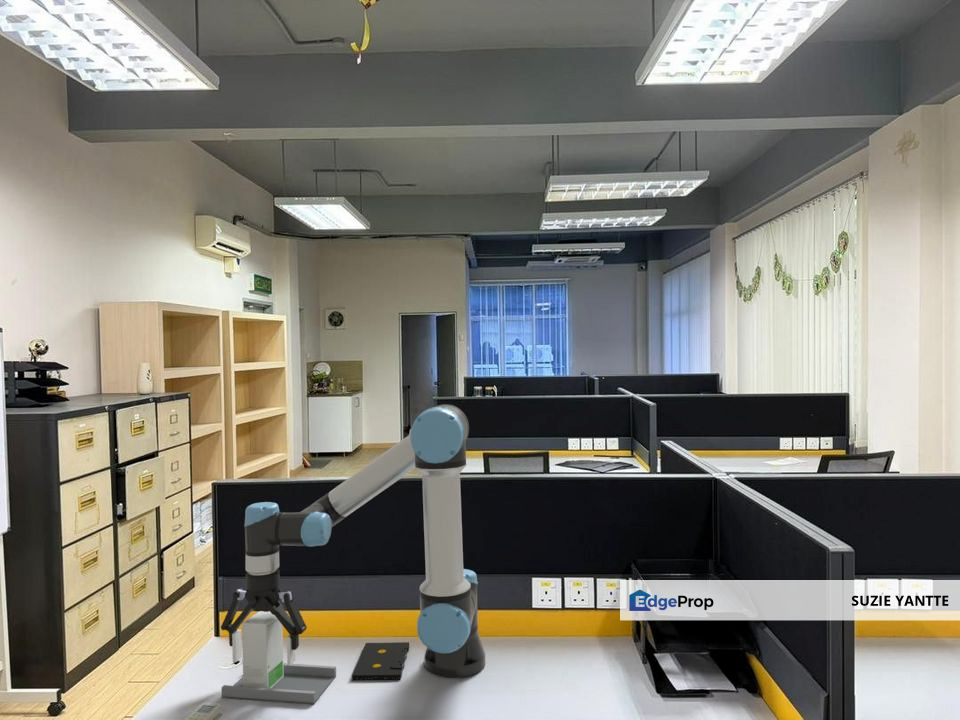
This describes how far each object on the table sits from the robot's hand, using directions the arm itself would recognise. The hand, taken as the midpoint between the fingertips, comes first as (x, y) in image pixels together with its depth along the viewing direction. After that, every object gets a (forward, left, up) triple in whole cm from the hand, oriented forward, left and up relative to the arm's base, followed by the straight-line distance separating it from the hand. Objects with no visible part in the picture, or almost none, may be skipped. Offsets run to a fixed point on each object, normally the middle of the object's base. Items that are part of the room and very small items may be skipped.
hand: (264, 661), depth 154 cm
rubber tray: (-4, 0, -6) cm, 7 cm away
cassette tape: (-24, -15, -6) cm, 29 cm away
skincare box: (0, 0, -5) cm, 5 cm away
